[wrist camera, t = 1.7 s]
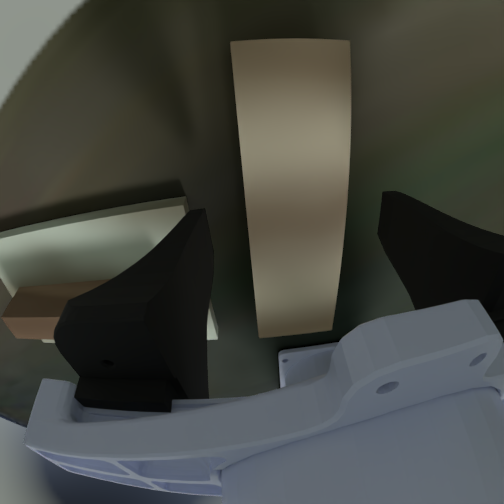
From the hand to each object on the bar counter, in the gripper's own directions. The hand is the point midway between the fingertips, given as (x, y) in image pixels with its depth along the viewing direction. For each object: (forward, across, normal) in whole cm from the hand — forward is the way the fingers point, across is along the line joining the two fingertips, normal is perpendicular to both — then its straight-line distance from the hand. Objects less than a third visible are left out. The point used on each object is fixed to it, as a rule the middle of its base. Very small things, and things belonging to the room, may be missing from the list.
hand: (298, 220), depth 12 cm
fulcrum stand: (+4, +12, +5) cm, 14 cm away
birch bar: (+4, 0, 0) cm, 4 cm away
